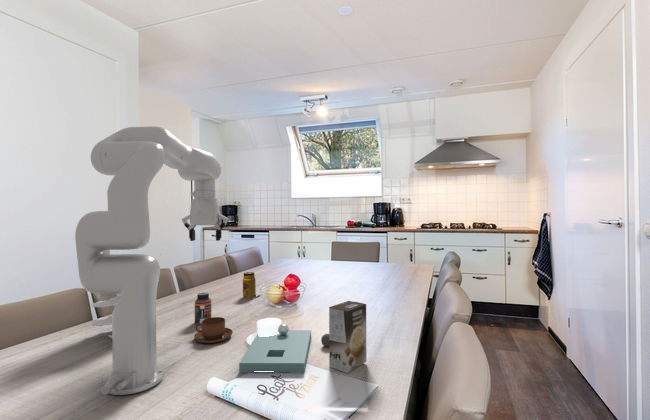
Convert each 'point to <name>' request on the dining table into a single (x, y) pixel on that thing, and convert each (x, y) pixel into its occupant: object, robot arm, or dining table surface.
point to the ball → (283, 329)
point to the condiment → (249, 285)
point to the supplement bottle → (202, 307)
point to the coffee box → (347, 336)
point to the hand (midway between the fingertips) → (205, 240)
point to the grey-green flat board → (277, 353)
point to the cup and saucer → (212, 330)
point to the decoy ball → (325, 340)
